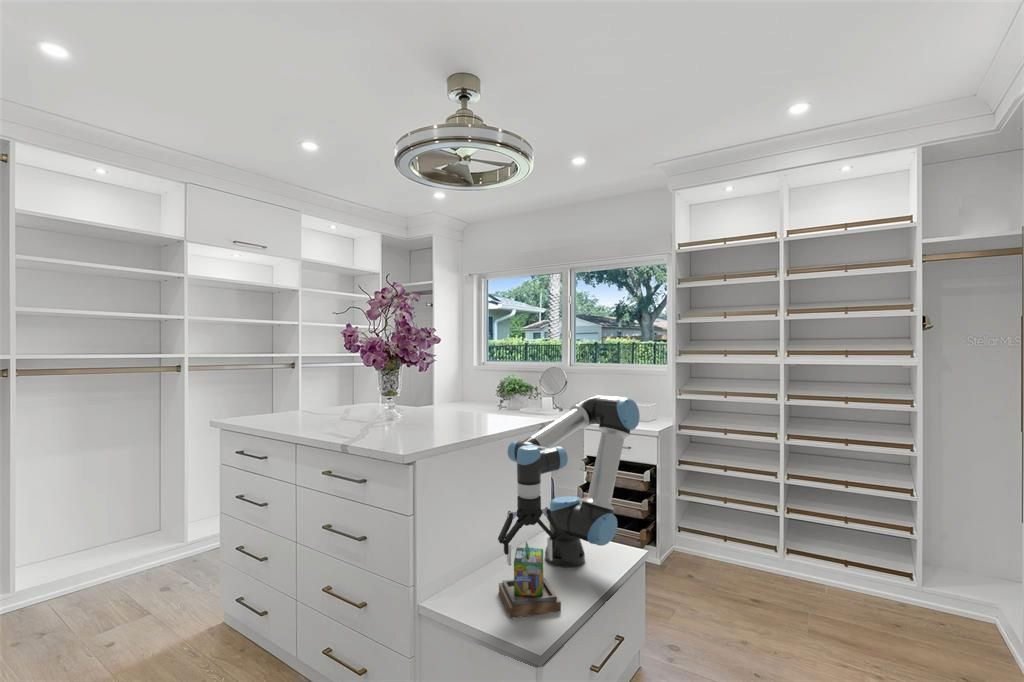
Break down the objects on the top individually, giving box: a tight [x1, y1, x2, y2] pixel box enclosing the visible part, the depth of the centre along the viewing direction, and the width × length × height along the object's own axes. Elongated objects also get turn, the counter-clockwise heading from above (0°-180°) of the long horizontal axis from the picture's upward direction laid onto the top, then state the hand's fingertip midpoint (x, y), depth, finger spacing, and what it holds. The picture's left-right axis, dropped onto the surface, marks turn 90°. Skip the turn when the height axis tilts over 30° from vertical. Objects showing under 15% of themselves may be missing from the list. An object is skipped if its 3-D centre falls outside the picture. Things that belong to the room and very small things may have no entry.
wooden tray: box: [498, 576, 562, 619], centre depth 160 cm, size 16×16×4 cm
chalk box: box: [513, 541, 544, 597], centre depth 160 cm, size 9×9×15 cm
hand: (529, 561), depth 160 cm, fingers open, 13 cm apart
